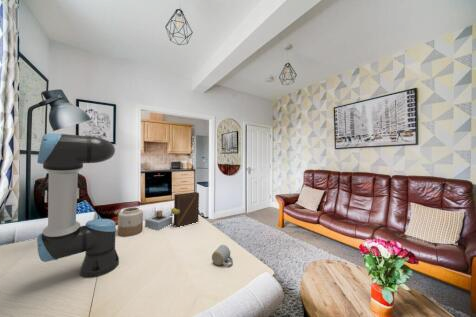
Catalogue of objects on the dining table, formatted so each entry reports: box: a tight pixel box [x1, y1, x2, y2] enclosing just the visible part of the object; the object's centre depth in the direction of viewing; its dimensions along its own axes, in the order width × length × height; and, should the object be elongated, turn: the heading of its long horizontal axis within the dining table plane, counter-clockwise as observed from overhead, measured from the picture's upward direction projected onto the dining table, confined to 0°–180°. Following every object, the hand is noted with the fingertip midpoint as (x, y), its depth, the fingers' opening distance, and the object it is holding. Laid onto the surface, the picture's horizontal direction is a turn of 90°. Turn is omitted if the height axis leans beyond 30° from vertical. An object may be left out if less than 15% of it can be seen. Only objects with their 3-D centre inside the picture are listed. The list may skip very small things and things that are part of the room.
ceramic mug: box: [211, 244, 234, 267], centre depth 95 cm, size 11×8×8 cm
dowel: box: [155, 210, 163, 219], centre depth 142 cm, size 4×4×6 cm
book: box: [171, 191, 200, 228], centre depth 146 cm, size 22×8×25 cm, turn 130°
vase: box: [117, 206, 144, 238], centre depth 129 cm, size 15×15×17 cm
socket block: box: [144, 214, 173, 231], centre depth 142 cm, size 14×14×7 cm
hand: (62, 200), depth 106 cm, fingers open, 13 cm apart
